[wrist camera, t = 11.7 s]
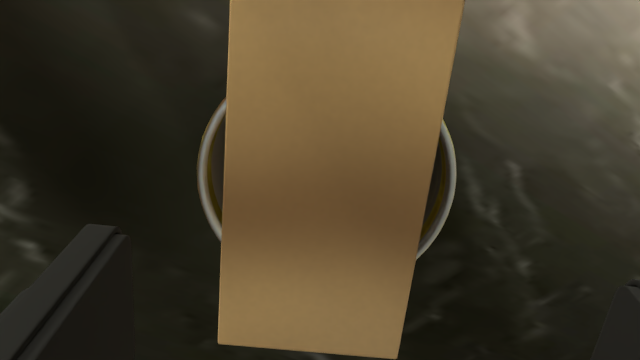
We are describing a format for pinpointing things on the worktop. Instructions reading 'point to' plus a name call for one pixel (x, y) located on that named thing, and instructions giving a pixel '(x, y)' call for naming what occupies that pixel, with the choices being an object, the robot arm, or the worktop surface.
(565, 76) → the worktop surface
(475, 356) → the worktop surface
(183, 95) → the worktop surface
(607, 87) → the worktop surface
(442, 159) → the ceramic cup
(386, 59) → the wooden block
